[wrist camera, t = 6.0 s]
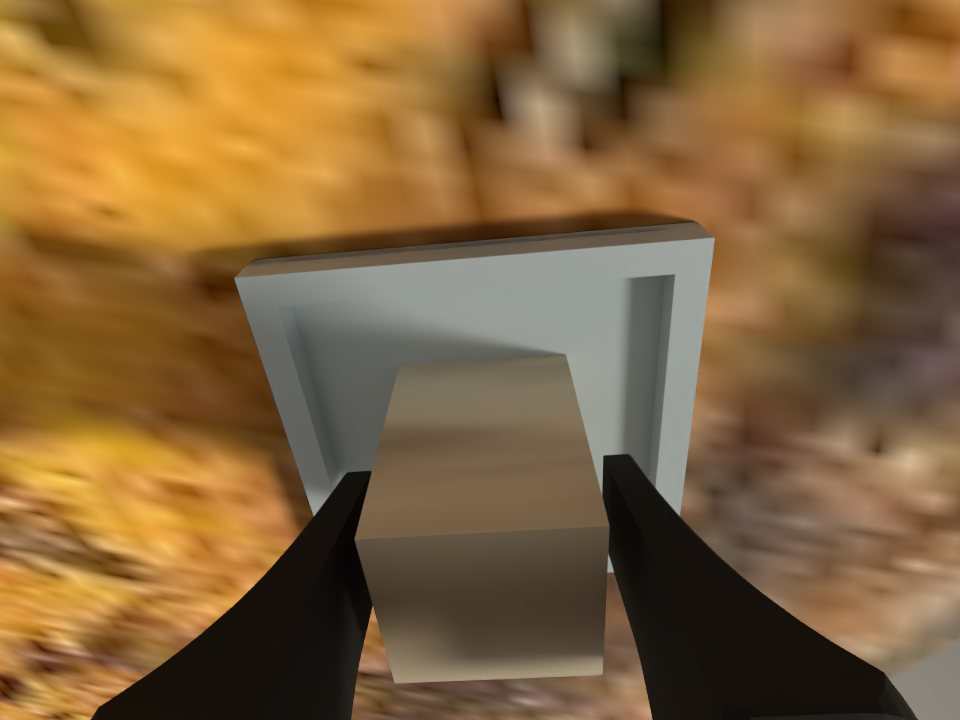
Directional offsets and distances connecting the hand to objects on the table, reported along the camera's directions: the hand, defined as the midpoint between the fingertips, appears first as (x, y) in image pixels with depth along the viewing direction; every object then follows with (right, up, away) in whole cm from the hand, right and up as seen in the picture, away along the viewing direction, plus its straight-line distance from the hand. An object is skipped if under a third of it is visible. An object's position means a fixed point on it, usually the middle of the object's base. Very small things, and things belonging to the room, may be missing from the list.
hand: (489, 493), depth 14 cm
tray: (0, +1, +3) cm, 3 cm away
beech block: (0, +1, +2) cm, 3 cm away
